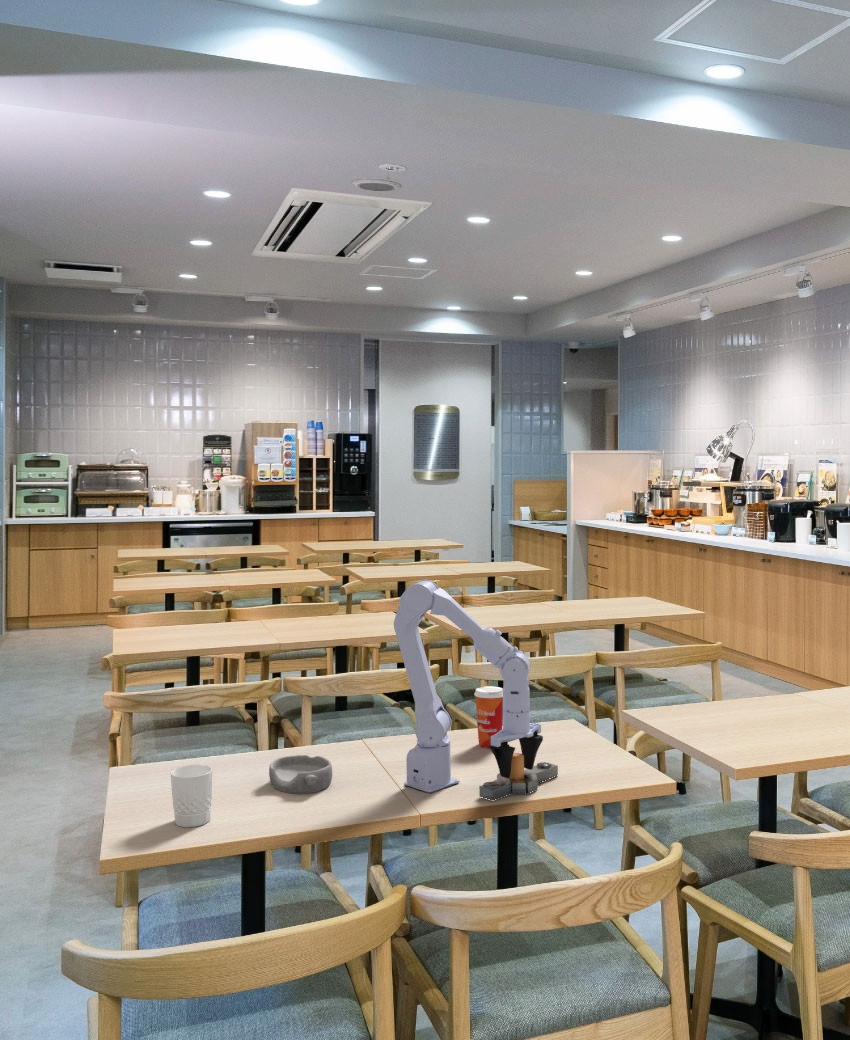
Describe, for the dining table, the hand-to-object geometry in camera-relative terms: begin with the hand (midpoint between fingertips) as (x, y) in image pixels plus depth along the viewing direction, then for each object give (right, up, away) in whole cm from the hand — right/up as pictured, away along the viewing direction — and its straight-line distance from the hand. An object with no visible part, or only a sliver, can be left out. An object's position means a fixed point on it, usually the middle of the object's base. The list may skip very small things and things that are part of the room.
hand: (516, 772), depth 195 cm
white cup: (-65, -5, -17) cm, 67 cm away
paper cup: (-3, -2, +32) cm, 32 cm away
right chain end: (+3, -3, +3) cm, 5 cm away
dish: (-47, -4, +5) cm, 47 cm away
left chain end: (-2, -3, -2) cm, 4 cm away
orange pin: (0, -3, 0) cm, 3 cm away
